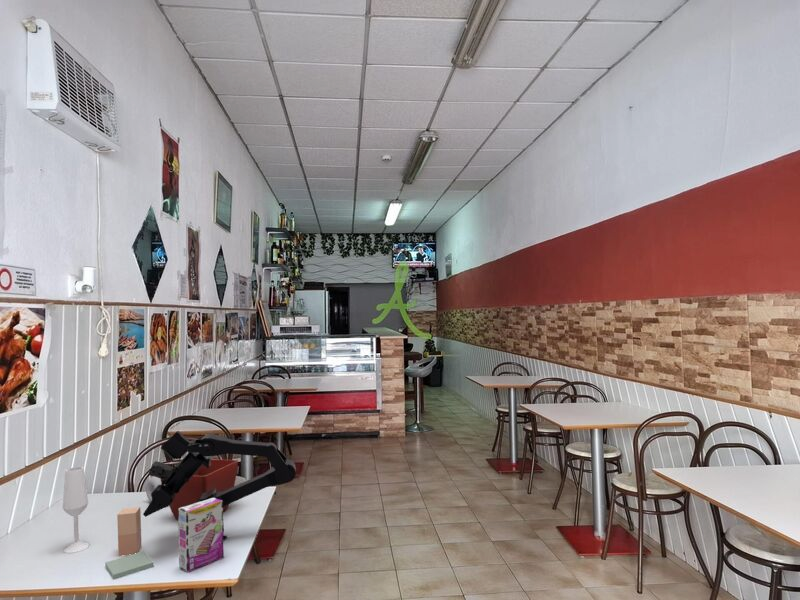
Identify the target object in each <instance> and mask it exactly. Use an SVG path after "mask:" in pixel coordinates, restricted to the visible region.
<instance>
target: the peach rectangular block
mask: <svg viewBox="0 0 800 600" xmlns="http://www.w3.org/2000/svg"><path fill="white" fill-rule="evenodd" d="M141 511H142V510H141V507H140V506H139V507H138V506H136V507H129V508H122V509H121V510H120V511H118V513H117V514H116V515H117V517H116V518H117V546H118V547H117V548H118V549H117V552H118V554H117V556H118V557H123V556H122V555H125V556H129V554H135V553H137V552H138V551H139V552H140V550H141V549H140V548H142V545H143V544H142V520H141V515H142V514H141V513H142V512H141ZM139 552H138V553H139Z"/></svg>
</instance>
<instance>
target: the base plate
mask: <svg viewBox="0 0 800 600" xmlns="http://www.w3.org/2000/svg"><path fill="white" fill-rule="evenodd" d="M104 564H105V569H106V570H107V572H108V573H109V575H110V577H111V578H112V579H113V580H115V579H119V578H122V577H125V576H129V575H132V574H135V573H137V572H138V573H139V572H141V571H144V570H148V569H150V568H154V567H155V566H154V561H153V560H152V559H151V557H150V556H149V555H148V554H147V553H146V552H145V551H139V552H138V553H136V554H132V555H125V556H121V557H119V558H115V559H113V560H109V561H106V562H104Z"/></svg>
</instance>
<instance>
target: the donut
mask: <svg viewBox="0 0 800 600" xmlns="http://www.w3.org/2000/svg"><path fill="white" fill-rule="evenodd" d="M158 485H161V479H160V478H158V477H155V476H151V477H150V478H149V479H148V480H147V482H146V485H145V492H146V497H147V499H148V501H149V503H151V501H152V496H151V493H152V492H153V490H154V489H155V488H156V487H157V486H158Z"/></svg>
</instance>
